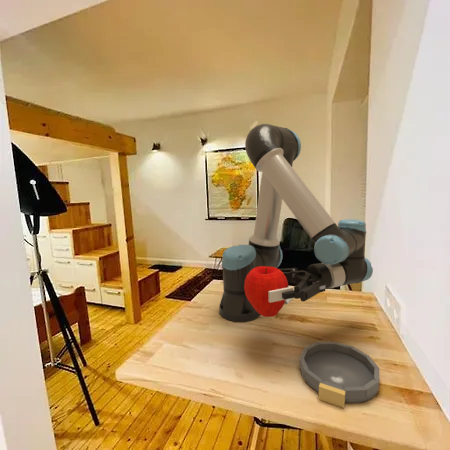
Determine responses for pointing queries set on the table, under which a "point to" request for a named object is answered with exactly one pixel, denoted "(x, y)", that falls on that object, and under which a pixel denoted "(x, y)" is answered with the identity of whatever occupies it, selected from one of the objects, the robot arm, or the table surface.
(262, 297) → the apple
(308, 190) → the robot arm
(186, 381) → the table surface
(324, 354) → the dish
